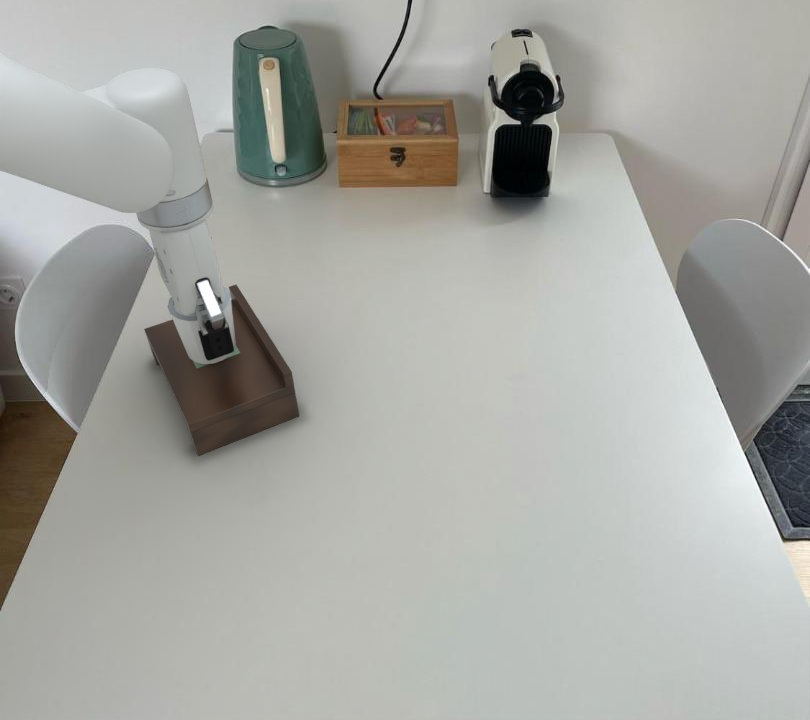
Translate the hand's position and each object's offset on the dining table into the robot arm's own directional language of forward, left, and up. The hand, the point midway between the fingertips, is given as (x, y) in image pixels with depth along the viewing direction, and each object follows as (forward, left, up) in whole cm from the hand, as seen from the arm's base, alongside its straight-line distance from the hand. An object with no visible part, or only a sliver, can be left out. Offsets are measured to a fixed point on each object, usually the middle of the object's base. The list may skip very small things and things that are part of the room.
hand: (207, 331), depth 92 cm
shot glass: (0, 0, -3) cm, 3 cm away
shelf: (0, -1, -8) cm, 8 cm away
